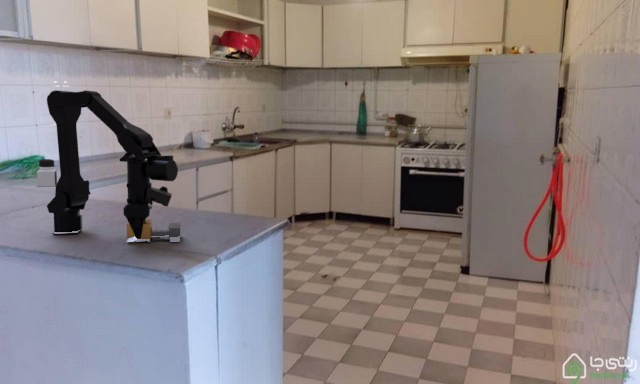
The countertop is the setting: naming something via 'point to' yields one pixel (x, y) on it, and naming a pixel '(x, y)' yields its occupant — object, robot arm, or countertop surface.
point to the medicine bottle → (46, 173)
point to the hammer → (168, 231)
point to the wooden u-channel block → (145, 231)
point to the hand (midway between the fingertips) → (139, 235)
